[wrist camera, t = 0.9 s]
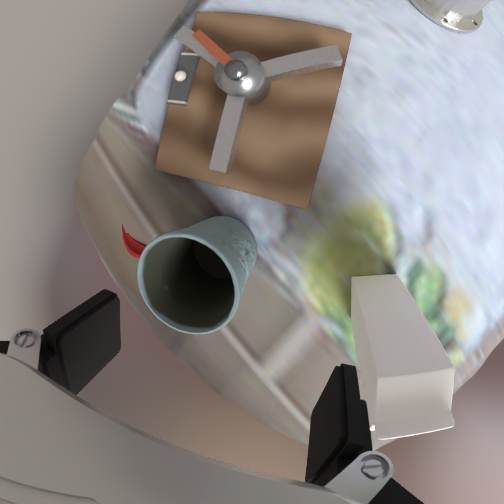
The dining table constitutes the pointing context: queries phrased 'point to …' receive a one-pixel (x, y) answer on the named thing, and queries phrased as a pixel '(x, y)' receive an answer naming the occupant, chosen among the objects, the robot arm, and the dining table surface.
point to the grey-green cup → (197, 274)
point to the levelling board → (258, 111)
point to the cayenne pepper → (132, 245)
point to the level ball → (180, 75)
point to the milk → (399, 360)
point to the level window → (183, 88)
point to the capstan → (248, 83)
